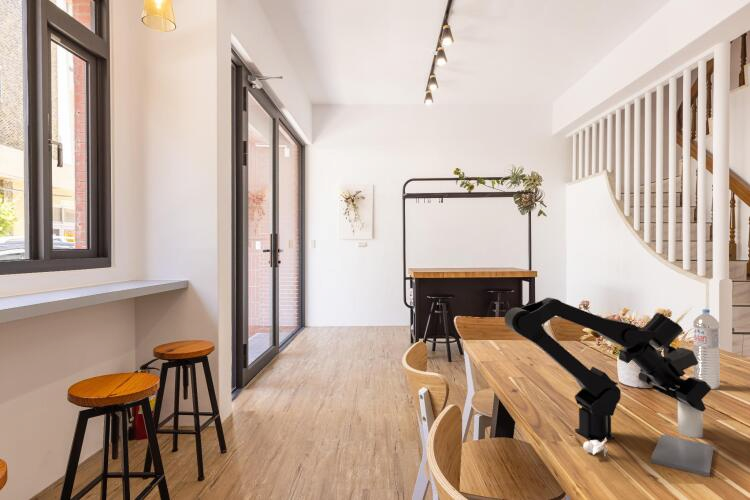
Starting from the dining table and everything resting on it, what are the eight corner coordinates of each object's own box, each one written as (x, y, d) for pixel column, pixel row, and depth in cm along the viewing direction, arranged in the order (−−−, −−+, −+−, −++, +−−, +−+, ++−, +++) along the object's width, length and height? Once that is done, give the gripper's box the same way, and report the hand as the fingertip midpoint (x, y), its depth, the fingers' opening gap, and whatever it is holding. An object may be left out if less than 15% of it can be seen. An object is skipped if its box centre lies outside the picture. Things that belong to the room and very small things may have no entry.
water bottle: (724, 390, 144) (723, 311, 144) (700, 389, 146) (699, 310, 146) (712, 383, 151) (712, 308, 151) (689, 382, 152) (689, 308, 152)
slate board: (709, 476, 90) (709, 472, 90) (650, 462, 96) (650, 458, 96) (713, 448, 102) (713, 445, 102) (661, 437, 109) (661, 434, 109)
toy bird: (580, 442, 105) (587, 423, 105) (601, 452, 104) (609, 433, 103) (582, 456, 98) (591, 437, 97) (605, 467, 96) (613, 448, 96)
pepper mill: (691, 438, 108) (690, 388, 108) (672, 430, 113) (672, 382, 113) (708, 436, 109) (707, 386, 109) (689, 428, 114) (688, 380, 114)
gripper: (702, 345, 102) (751, 394, 102) (649, 330, 120) (690, 372, 120) (667, 381, 101) (716, 430, 102) (620, 361, 120) (661, 402, 120)
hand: (695, 406), depth 111 cm, fingers closed on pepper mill, 5 cm apart
